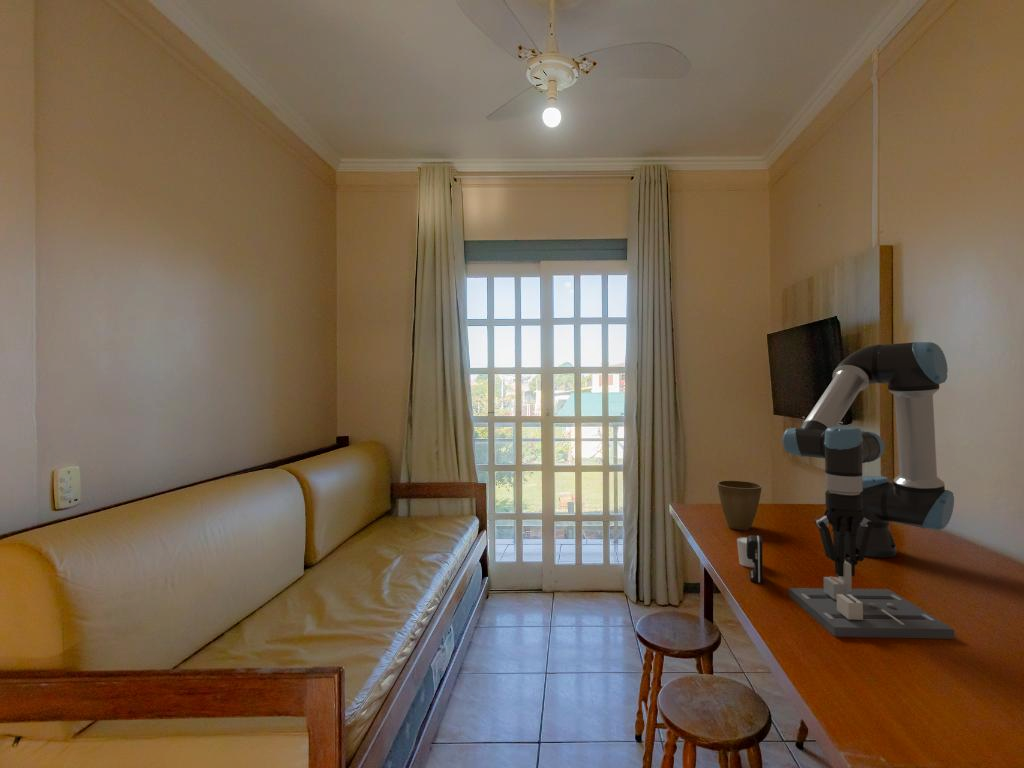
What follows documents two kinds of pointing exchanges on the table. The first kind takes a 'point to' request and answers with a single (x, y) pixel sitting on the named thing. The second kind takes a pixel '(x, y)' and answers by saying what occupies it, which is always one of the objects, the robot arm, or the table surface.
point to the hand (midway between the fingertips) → (845, 589)
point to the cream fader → (849, 606)
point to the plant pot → (739, 502)
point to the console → (872, 615)
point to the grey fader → (834, 586)
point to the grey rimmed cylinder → (743, 552)
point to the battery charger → (755, 557)
